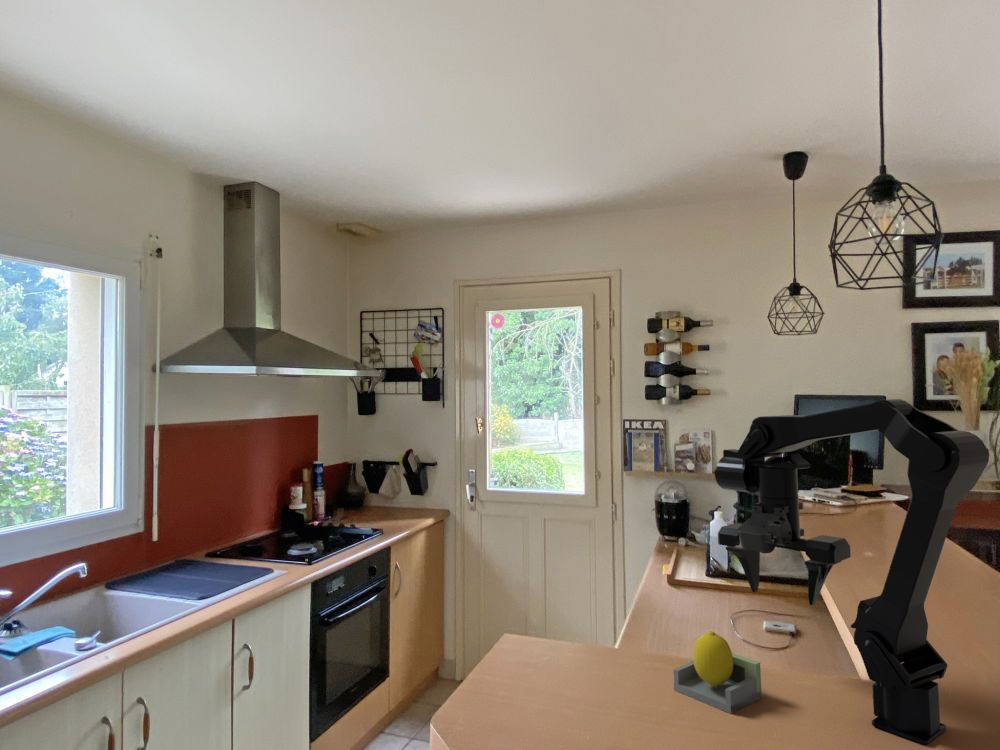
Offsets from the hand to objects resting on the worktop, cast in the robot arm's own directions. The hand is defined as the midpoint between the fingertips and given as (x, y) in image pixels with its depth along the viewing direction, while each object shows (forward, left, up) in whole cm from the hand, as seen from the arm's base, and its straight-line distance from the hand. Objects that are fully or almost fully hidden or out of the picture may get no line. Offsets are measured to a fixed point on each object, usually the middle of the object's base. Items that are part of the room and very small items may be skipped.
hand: (782, 597), depth 101 cm
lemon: (+3, +14, -11) cm, 18 cm away
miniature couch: (+3, +13, -12) cm, 18 cm away
